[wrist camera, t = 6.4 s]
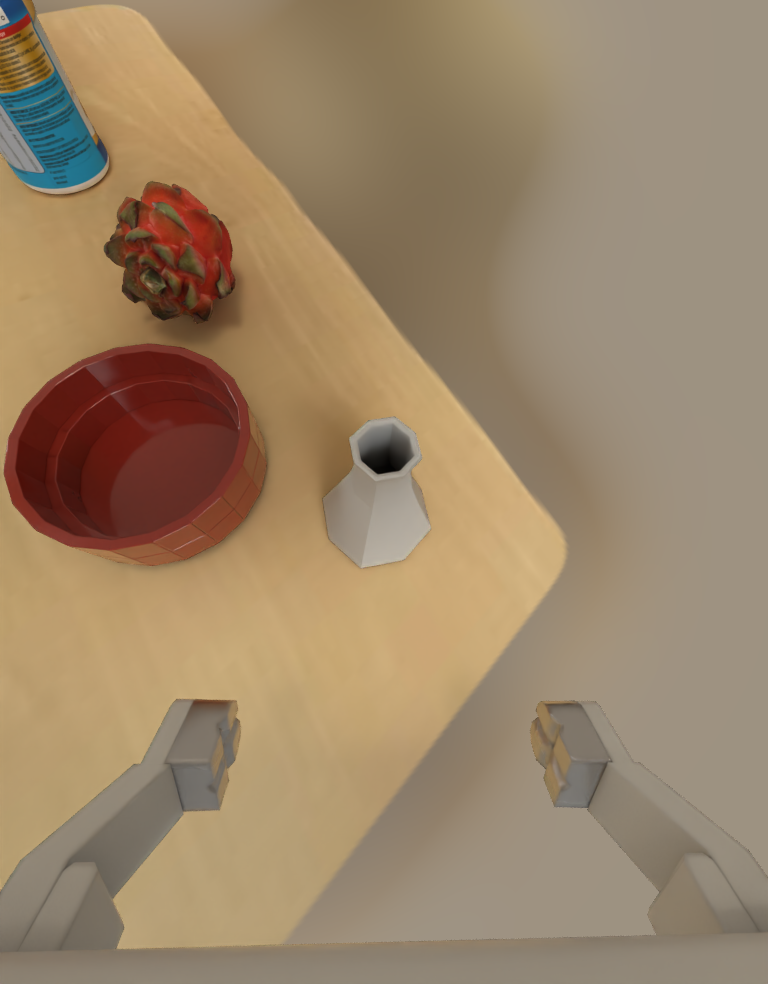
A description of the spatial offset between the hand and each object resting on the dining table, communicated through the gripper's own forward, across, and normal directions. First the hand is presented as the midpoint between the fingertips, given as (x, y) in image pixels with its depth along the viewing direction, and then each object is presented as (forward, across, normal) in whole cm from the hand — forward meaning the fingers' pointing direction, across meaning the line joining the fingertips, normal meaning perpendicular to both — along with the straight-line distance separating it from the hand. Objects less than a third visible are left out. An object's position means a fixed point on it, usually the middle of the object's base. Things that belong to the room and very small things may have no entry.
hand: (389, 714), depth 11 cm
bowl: (+19, +14, +1) cm, 23 cm away
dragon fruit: (+30, +16, -11) cm, 36 cm away
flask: (+17, 0, +3) cm, 17 cm away
